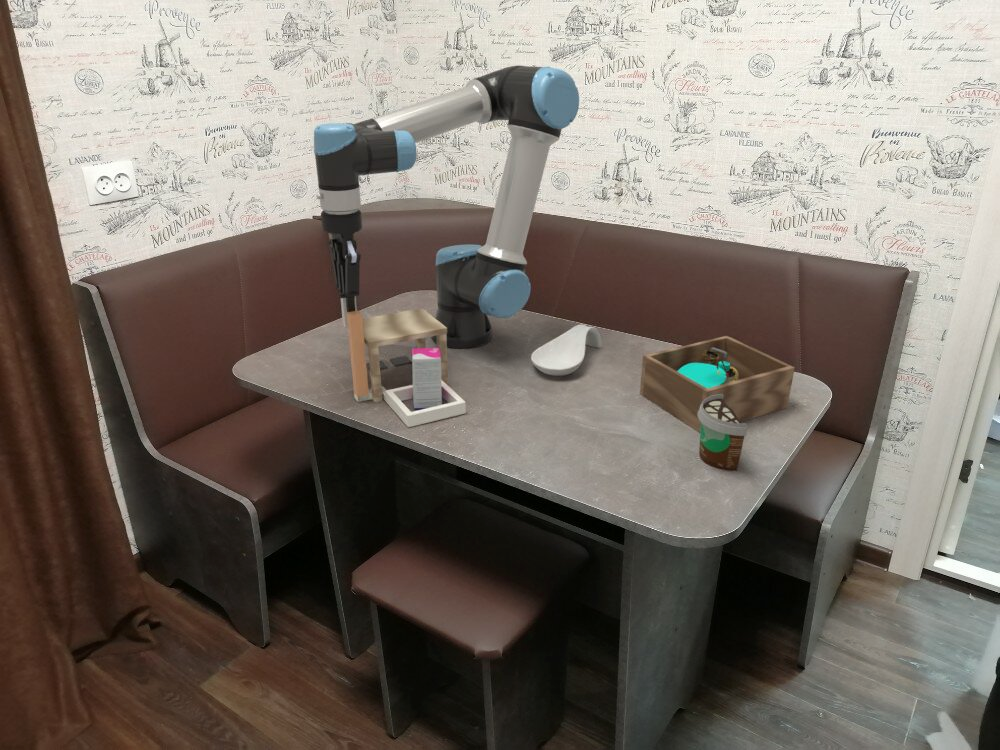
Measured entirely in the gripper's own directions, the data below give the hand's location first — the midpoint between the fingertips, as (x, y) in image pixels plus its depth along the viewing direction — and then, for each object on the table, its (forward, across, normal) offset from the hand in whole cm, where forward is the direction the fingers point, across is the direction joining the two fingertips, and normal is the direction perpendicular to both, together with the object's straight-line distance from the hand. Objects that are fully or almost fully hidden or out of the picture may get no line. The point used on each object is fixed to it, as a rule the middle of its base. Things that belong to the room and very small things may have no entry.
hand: (350, 325), depth 151 cm
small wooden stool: (+16, -1, +10) cm, 19 cm away
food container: (+15, +55, +48) cm, 75 cm away
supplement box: (+16, +12, +12) cm, 23 cm away
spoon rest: (+16, +7, +49) cm, 52 cm away
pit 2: (+16, -11, +14) cm, 24 cm away
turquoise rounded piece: (+15, +38, +64) cm, 76 cm away
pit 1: (+16, -11, +8) cm, 21 cm away
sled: (+15, +11, +8) cm, 20 cm away
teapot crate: (+15, +38, +64) cm, 76 cm away
